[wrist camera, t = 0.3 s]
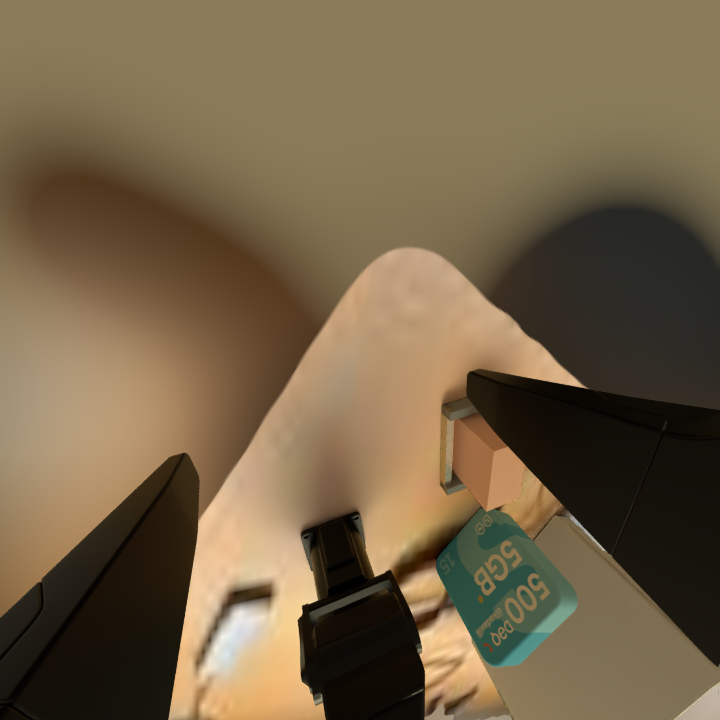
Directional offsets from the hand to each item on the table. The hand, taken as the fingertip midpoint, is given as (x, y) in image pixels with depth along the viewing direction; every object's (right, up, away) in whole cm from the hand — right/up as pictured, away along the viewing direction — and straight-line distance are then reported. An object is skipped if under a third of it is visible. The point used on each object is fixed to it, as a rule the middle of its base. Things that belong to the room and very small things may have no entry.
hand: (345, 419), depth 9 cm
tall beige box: (+13, -7, +24) cm, 28 cm away
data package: (+16, -23, +33) cm, 43 cm away
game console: (+28, -35, +43) cm, 62 cm away
